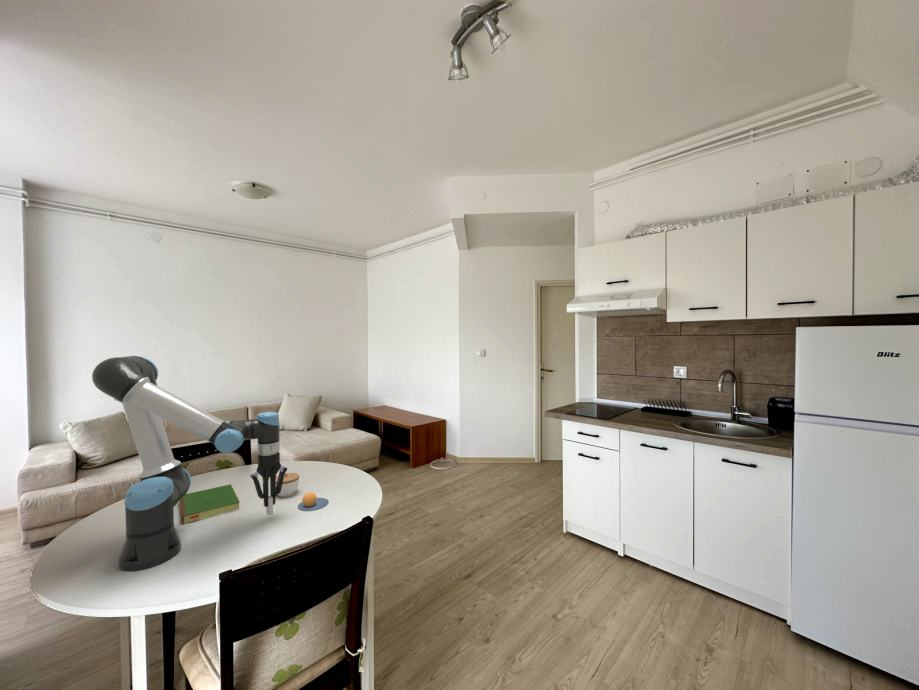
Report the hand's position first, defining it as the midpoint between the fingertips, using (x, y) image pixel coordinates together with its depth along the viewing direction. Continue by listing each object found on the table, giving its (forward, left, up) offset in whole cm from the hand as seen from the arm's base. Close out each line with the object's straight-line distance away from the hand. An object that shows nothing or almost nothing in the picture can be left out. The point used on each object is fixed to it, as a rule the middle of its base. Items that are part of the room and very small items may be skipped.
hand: (269, 513), depth 141 cm
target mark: (+17, 0, -2) cm, 17 cm away
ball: (+15, 0, +1) cm, 15 cm away
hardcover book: (-14, +30, -3) cm, 33 cm away
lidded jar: (+13, +19, -2) cm, 23 cm away
